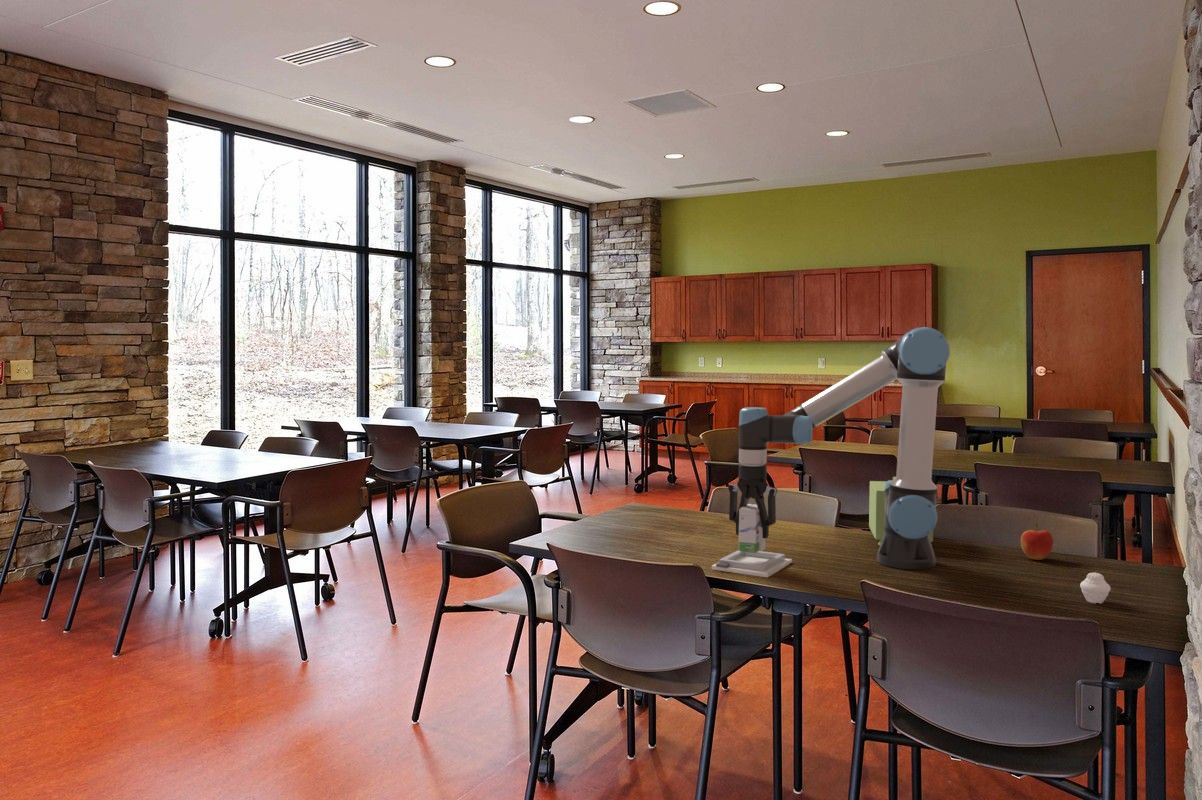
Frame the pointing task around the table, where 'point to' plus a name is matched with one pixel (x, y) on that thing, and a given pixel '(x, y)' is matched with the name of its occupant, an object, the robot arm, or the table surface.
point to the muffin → (1095, 588)
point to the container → (879, 510)
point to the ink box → (749, 528)
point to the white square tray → (752, 563)
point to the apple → (1036, 544)
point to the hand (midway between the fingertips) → (752, 548)
